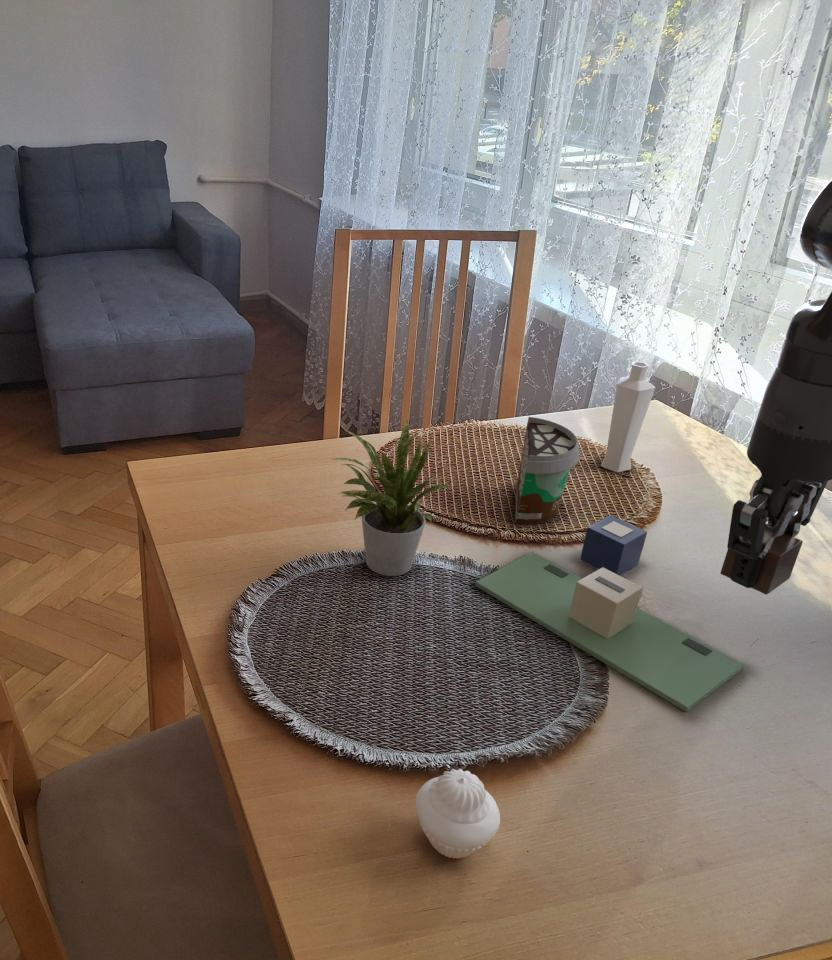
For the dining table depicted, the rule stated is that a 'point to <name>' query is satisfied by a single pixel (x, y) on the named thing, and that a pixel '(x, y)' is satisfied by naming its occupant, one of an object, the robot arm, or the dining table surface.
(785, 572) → the walnut block
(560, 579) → the green board
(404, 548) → the house plant
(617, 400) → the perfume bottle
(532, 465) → the food container
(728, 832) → the dining table surface
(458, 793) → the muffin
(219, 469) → the dining table surface
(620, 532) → the navy block
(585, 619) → the cream block
